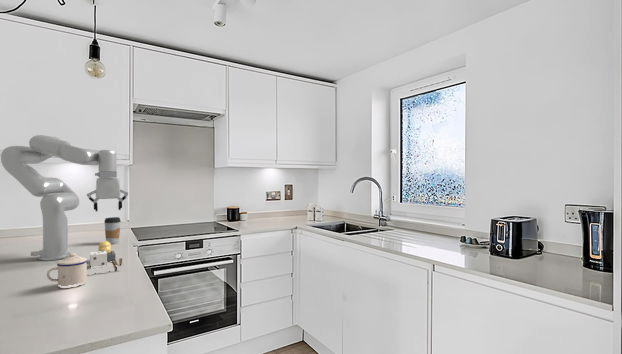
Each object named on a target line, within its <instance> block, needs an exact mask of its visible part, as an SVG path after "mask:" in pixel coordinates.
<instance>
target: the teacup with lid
mask: <svg viewBox="0 0 622 354" xmlns="http://www.w3.org/2000/svg"><path fill="white" fill-rule="evenodd" d="M70 253H71V254H69V257H66V258H64V259H59V260H58V262H56V263H57V264H56V266H57V267H56V266H55V267H52V268H50V269H48V270H47V272H46V277H47V279H48V280H49V281H51V282H57V286H58V285H61V286H68V285H74V284H78V283H82V282H84V281H86V280H87V277H88V276H87V274H88V273H87V271H88V270H87V269H88V267H87V265H88V264H87V262H88V259H87V257H81V256H80V255H77V254H76V253H75V252H74V253H73V252H70ZM56 270H57V279H56V278H55V279H54V278H52V277H51V276H50V273H51V272H52V271H56ZM87 281H88V280H87Z"/></svg>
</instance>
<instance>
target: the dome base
mask: <svg viewBox="0 0 622 354" xmlns="http://www.w3.org/2000/svg"><path fill="white" fill-rule="evenodd" d="M115 260H116V253H115V250H111V254H107V261H115Z"/></svg>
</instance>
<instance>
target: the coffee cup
mask: <svg viewBox="0 0 622 354" xmlns="http://www.w3.org/2000/svg"><path fill="white" fill-rule="evenodd" d="M103 223H104V231H105V233H104V235H105V241H108V242H109V243H110V244H111V245H117V244H119V242H120V233H121V218H120V217H118V216H117V217H115V216H113V217H105V219H104V222H103Z"/></svg>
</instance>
